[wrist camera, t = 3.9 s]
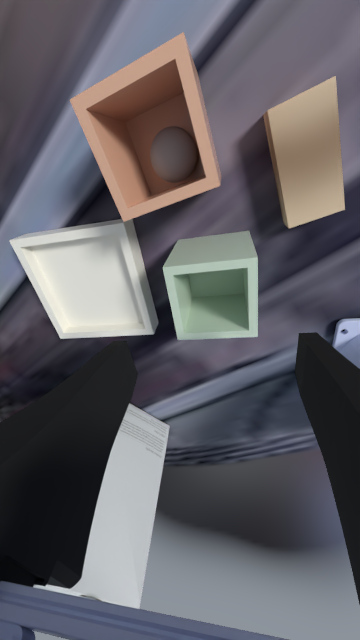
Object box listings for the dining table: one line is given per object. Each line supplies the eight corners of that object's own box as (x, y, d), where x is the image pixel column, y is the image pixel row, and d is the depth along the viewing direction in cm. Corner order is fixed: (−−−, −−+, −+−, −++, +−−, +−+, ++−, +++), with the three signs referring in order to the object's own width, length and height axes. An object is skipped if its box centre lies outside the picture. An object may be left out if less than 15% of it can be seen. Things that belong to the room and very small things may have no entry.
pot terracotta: (221, 177, 16) (220, 185, 11) (150, 204, 17) (123, 221, 13) (197, 74, 13) (183, 32, 9) (117, 117, 15) (69, 99, 10)
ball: (190, 170, 16) (200, 189, 14) (150, 173, 15) (154, 192, 14) (193, 119, 14) (204, 133, 12) (145, 121, 13) (150, 136, 12)
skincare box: (93, 415, 32) (5, 589, 19) (118, 391, 29) (31, 583, 16) (146, 444, 34) (98, 620, 21) (175, 426, 31) (139, 621, 18)
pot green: (250, 295, 20) (257, 336, 15) (188, 299, 21) (177, 340, 16) (248, 230, 17) (257, 257, 12) (178, 239, 18) (162, 267, 14)
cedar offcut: (332, 203, 16) (344, 209, 14) (282, 221, 17) (288, 228, 15) (321, 86, 13) (335, 75, 11) (262, 115, 14) (267, 110, 12)
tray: (158, 322, 22) (153, 334, 21) (70, 327, 24) (60, 338, 23) (132, 217, 18) (123, 222, 16) (25, 234, 19) (9, 240, 18)
